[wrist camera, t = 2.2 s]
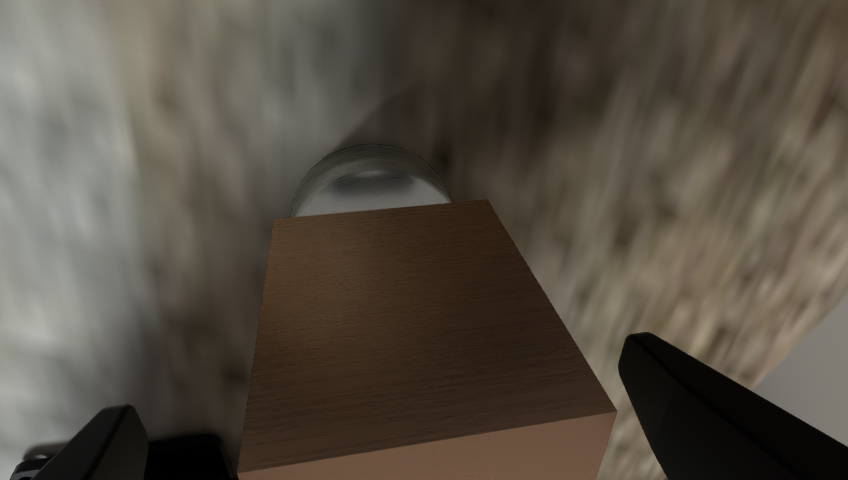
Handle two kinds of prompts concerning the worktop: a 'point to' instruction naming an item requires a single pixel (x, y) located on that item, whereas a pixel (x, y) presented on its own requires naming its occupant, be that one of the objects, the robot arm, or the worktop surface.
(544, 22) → the worktop surface
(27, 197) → the worktop surface
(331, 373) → the brown and silver block
